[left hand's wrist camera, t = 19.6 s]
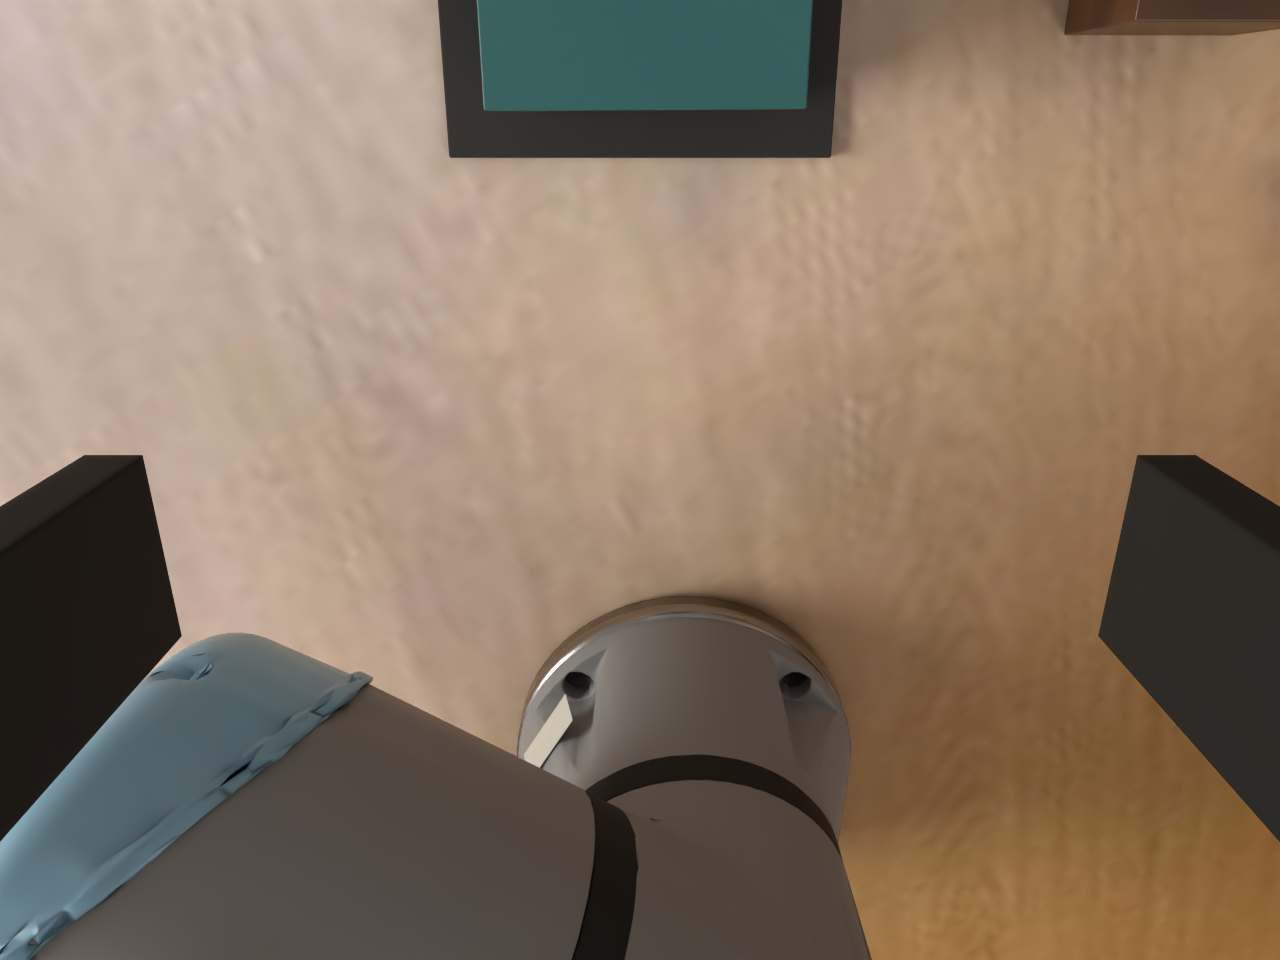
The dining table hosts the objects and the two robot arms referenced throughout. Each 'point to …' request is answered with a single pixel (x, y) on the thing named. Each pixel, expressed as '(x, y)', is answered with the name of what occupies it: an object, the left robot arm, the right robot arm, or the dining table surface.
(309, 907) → the left robot arm
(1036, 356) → the dining table surface
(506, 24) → the teal flat block
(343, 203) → the dining table surface
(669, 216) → the dining table surface
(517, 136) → the rubber mat
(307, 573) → the dining table surface
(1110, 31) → the walnut case
